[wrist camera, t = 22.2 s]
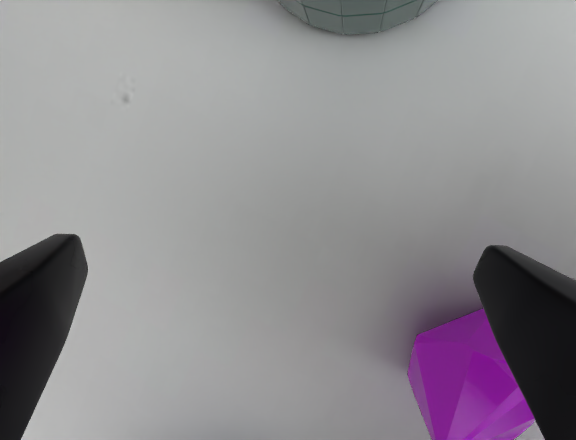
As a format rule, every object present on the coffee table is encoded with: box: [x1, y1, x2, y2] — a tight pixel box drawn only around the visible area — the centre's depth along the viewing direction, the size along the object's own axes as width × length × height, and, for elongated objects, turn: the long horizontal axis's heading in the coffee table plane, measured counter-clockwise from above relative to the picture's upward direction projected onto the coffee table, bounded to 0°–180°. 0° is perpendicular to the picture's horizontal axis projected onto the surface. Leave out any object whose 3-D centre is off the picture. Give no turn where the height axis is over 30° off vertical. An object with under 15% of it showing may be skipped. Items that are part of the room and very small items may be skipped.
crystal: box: [407, 308, 535, 440], centre depth 17 cm, size 5×5×5 cm
